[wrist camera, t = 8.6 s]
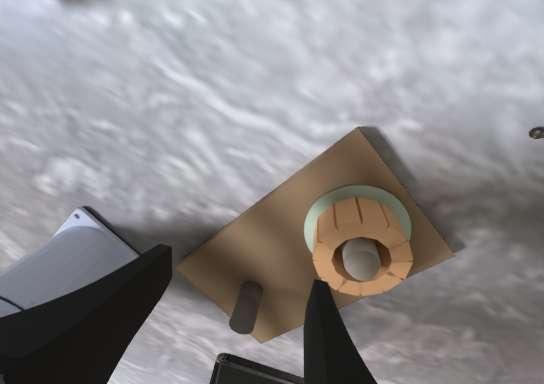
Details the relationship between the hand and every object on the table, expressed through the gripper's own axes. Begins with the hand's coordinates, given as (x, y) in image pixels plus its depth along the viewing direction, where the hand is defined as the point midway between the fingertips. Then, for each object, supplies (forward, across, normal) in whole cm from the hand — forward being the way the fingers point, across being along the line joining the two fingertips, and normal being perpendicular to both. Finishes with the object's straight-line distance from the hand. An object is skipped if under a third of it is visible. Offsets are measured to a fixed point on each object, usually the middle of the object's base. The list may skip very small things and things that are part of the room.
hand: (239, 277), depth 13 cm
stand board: (+9, -3, +5) cm, 11 cm away
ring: (+8, -7, +1) cm, 10 cm away
